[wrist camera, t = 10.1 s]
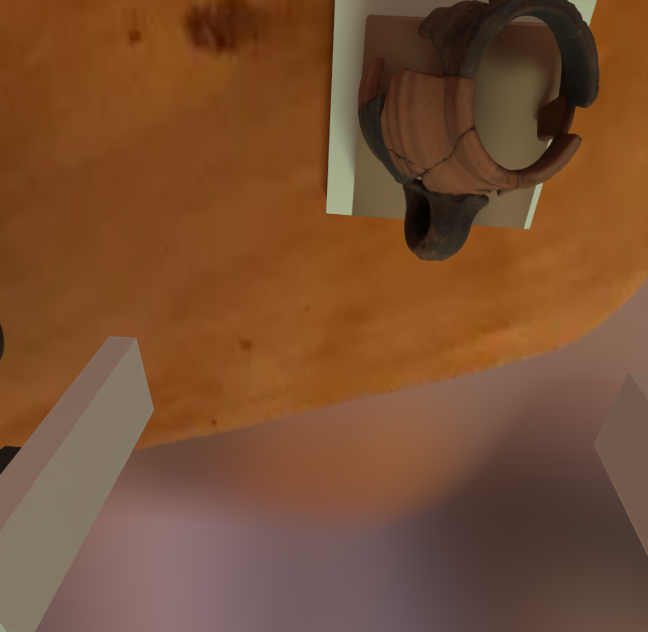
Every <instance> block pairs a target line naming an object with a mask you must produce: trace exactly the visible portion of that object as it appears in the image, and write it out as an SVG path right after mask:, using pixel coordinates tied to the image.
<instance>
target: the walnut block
mask: <svg viewBox="0 0 648 632" xmlns="http://www.w3.org/2000/svg"><path fill="white" fill-rule="evenodd" d="M425 18H426V17H410V16H389V15H369V16H368V17H367V18H366V25H365V39H364V53H363V66H362V75H363V72H364V69H365V67H366V66H367V65H368V64H369V63H370V62H371V61H372V60H373V59H374V58H375V57H381V58H383V59H384V60H385V65H384V68H383V71H382V75H381V78H380V81H379V86H378V91H377V96H376V98H377V97H379V96H380V95H382V94H384V95H387V92H388V86H389V82H390V80H391V78H392V77H393V76H394V75H395V74H396V73H398V72H400V71H401V70H402V69H403V68H407V69H411V70H413V71H418V72H423V73H431V74H435V75H439V76H443V75H444V72H443V69H442V67H441V63H440V59H439V57H438V55H437V53H436V51H435V49H434V47H433V45H432V41H431V40H430V39H426V38H423V37H421V36H420V35H419V34H418V28H419V26H420V24H421V23H422V22H423V21H424V20H425ZM561 69H562V62H561V54H560V50H559V47H558V44H557V41H556V39H555V37H554V35H553V33H552V31H551V29H550V28H549V27H548V25H547V24H546V23H536V22H515V21H511V22H509V23H508V24H507V25H506V26H504V27H503V28H502V29H501V30H500V31H499V33H498V34H497V35H496V36H495V37H494V39H493V40H492V41H491V43H490V44H489V46H488V48H487V49H486V51H485V53H484V56H483V58H482V60H481V63H480V66H479V68H478V71H477V73H476V75H475V89H474V118H475V127H476V129H477V132H478V135H479V138H480V140H481V142H482V145H483V146H484V148H485V150H486V151H487V153H488V154H489V155H490V157H491V158H492V159H493V160H494V161H495V162H496V163H498V164H499V165H501V166H502V167H504V168H506V169H509V170H517V169H523V168H526V167H528V166H530V165H531V164H533V163H534V162H536V161H537V160H538V159H539V158H540V157H541V156H542V154H543V153H544V152H545V151H546V149H547V146H548V142H549V141H548V142H543V141H540V140H538V138H537V122H538V114H539V112H540V109H541V108H542V107H543V106H545V105H547V104H548V103H549V102H550V101H552V100H554V99H556V98H557V97H558V96H559V88H560V80H561ZM416 179H418V180H422V178H421V177H418V178H416ZM535 188H536V186H532V187H530V188H526V189H516V190H514V191H512V192H510V193H507V194H505V195H502V196H498V195H497V192H496V191H497V190H495V191H492V192H491V193H489V194H485V195H487V197H489V203H488V205H486V206H485V207H484V208H482V209H481V210H480V211H479V212H478V213H477V215H476V216H475V218H474V220H473V222H472V224H471V225H483V226H495V227H508V228H521V229H524V226H525V223H526V219H527V216H528V212H529V209H530V205H531V202H532V198H533V195H534V191H535ZM405 213H406V198H405V193H404V190H403V185H402V184H401V183H398V182H396V180H395V179H394V177H393V176H392V175H391V174H390V173H389V171H388V170H387V169H386V168H385V166H384V164H383V163H382V162H381V161H380V160H379V159H378V158H376V156H375V155H374V154H373V153H372V151H371V150H370V148H369V147H368V145H367V143H366V141H365V139H364V137H363V134H362V132H361V128H360V123H359V121H358V135H357V149H356V163H355V176H354V190H353V204H352V215H355V216H368V217H381V218H393V219H405Z"/></svg>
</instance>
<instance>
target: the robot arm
mask: <svg viewBox="0 0 648 632" xmlns="http://www.w3.org/2000/svg"><path fill="white" fill-rule="evenodd" d="M3 348H4V343H3V336H2V332H1V329H0V360H1V357H2V354H3ZM153 411H154V408H153V404H152V400H151V396H150V392H149V388H148V384H147V380H146V376H145V372H144V368H143V364H142V359H141V355H140V351H139V347H138V343H137V339H136V338H131V337H116V336H109V337H108V338H107V340H106V341H105V342H104V344H103V345H102V346H101V347H100V349H99V350H98V351H97V352H96V354H95V355H94V356H93V358H92V359H91V360H90V361H89V363H88V364H87V365H86V366H85V368H84V369H83V370H82V372H81V373H80V374H79V375H78V377H77V378H76V379H75V380H74V382H73V383H72V384H71V386H70V387H69V388H68V389H67V391H66V392H65V393H64V394H63V396H62V397H61V398H60V400H59V401H58V402H57V403H56V405H55V406H54V407H53V408H52V410H51V411H50V412H49V414H48V415H47V416H46V417H45V419H44V420H43V421H42V422H41V424H40V425H39V426H38V428H37V429H36V430H35V431H34V433H33V434H32V435H31V436H30V438H29V439H28V440H27V441H26V443H25V444H24V445H23V447H12V446H5V447H3V448H2V449H0V632H35V630H36V629H37V626H38V625H39V623H40V621H41V619H42V617H43V615H44V614H45V612H46V610H47V608H48V606H49V604H50V602H51V601H52V599H53V597H54V595H55V593H56V591H57V589H58V588H59V586H60V584H61V582H62V580H63V578H64V576H65V574H66V573H67V571H68V569H69V567H70V565H71V563H72V562H73V560H74V558H75V556H76V554H77V552H78V550H79V549H80V547H81V545H82V543H83V541H84V539H85V537H86V536H87V534H88V532H89V530H90V528H91V526H92V524H93V523H94V521H95V519H96V517H97V515H98V513H99V511H100V510H101V508H102V506H103V504H104V502H105V500H106V498H107V497H108V495H109V493H110V491H111V489H112V487H113V485H114V483H115V481H116V479H117V478H118V476H119V474H120V472H121V470H122V469H123V467H124V465H125V463H126V461H127V459H128V457H129V456H130V454H131V452H132V450H133V448H134V446H135V444H136V443H137V441H138V439H139V437H140V435H141V433H142V431H143V430H144V428H145V426H146V424H147V422H148V420H149V418H150V417H151V415H152V413H153ZM594 446H595V448H596V450H597V452H598V454H599V456H600V459H601V461H602V463H603V464H604V467H605V469H606V471H607V473H608V475H609V477H610V479H611V481H612V483H613V485H614V487H615V489H616V492H617V494H618V496H619V498H620V500H621V502H622V504H623V506H624V508H625V510H626V512H627V514H628V516H629V518H630V520H631V522H632V524H633V527H634V529H635V531H636V533H637V535H638V537H639V539H640V541H641V543H642V545H643V547H644V549H645V551H646V553H647V555H648V373H639V372H628V374H627V376H626V378H625V380H624V382H623V384H622V387H621V389H620V391H619V393H618V395H617V397H616V399H615V401H614V403H613V406H612V408H611V410H610V412H609V414H608V416H607V418H606V420H605V422H604V425H603V427H602V429H601V431H600V433H599V435H598V438H597V439H596V441H595V443H594Z"/></svg>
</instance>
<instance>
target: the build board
mask: <svg viewBox="0 0 648 632" xmlns="http://www.w3.org/2000/svg"><path fill="white" fill-rule="evenodd" d="M461 1H465V0H335V18H334V42H333V66H332V90H331V114H330V138H329V162H328V186H327V210H326V213H331V214H343V215H352V204H353V190H354V176H355V163H356V149H357V135H358V121H359V118H358V92H359V86H360V81H361V78H362V66H363V53H364V39H365V25H366V18H367V17H368V16H369V15H389V16H410V17H427V16H428V15H429V14H430V13H431V12H432V11H433V10H434V9H436V8H438V7H451V6H453V5H455V4H456V3H458V2H461ZM468 1H472V0H468ZM478 1H481V2H484V3H488V4H489V0H478ZM568 1H569V2H571V3H573V4H575V7H576V8H577V10H578V11H579V12H580V13H581V15H582V18H583V21H585V22H586V23H587V24H588V27H589V24H590V21H591V17H592V14H593V10H594V7H595V4H596V0H568ZM512 21H515V22H536V23H544V22H543V21H542V20H540V19H538V18H536V17H532V16H521V17H517V18H516V19H514V20H512ZM551 141H552V139H551V140H550V141H549V142H548V146H549V145H550V143H551ZM548 146H547V148H548ZM542 184H543V183H541V184H538V185H536V188H535V191H534V195H533V198H532V202H531V205H530V209H529V212H528V216H527V219H526V223H525V226H524V229H530V225H531V222H532V218H533V215H534V211H535V208H536V205H537V201H538V198H539V194H540V191H541V188H542Z"/></svg>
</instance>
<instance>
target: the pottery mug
mask: <svg viewBox="0 0 648 632" xmlns="http://www.w3.org/2000/svg"><path fill="white" fill-rule="evenodd" d="M521 16H532V17H536V18H538V19H540V20H542V21H543V22H544V23H546V24H547V25H548V27H549V28H550V29H551V31H552V33H553V35H554V37H555V39H556V41H557V44H558V47H559V50H560V54H561V62H562V69H561V80H560V88H559V96H558V97H557V98H556V99H554V100H552V101H550V102H549V103H548V104H547V105H545V106H543V107H542V108H541V109H540V112H539V114H538V122H537V138H538V140H540V141H543V142H548V141H550V140H551V139H552V141H551V143H550V145H549V146H548V148H547V149H546V151H545V152H544V153H543V154H542V156H541V157H540V158H539V159H538V160H537V161H536V162H534V163H533V164H531V165H530V166H528V167H526V168H523V169H517V170H509V169H506V168H504V167H502V166H501V165H499V164H498V163H496V162H495V161H494V160H493V159H492V158H491V157H490V155H489V154H488V153H487V151H486V150H485V148H484V146H483V145H482V142H481V140H480V138H479V135H478V132H477V129H476V127H475V118H474V89H475V75H476V73H477V71H478V68H479V66H480V63H481V60H482V58H483V56H484V53H485V51H486V49H487V48H488V46H489V44H490V43H491V41H492V40H493V39H494V37H495V36H496V35H497V34H498V33H499V31H500V30H501V29H502V28H503V27H504V26H506V25H507V24H508V23H509V22H511V21H512V20H514V19H516V18H517V17H521ZM418 34H419V35H420V36H421V37H423V38H426V39H430V40H431V41H432V45H433V47H434V49H435V51H436V53H437V55H438V57H439V59H440V63H441V67H442V69H443V72H444V75H443V76H439V75H435V74H431V73H423V72H418V71H413V70H411V69H407V68H403V69H402V70H401V71H400V72H398V73H396V74H395V75H394V76H393V77H392V78H391V80H390V82H389V86H388V92H387V95H384V94H382V95H380V96H379V97H377V98H376V96H377V91H378V86H379V81H380V78H381V75H382V71H383V68H384V65H385V60H384V59H383V58H381V57H375V58H374V59H373V60H372V61H371V62H370V63H369V64H368V65H367V66H366V67H365V69H364V72H363V75H362V78H361V81H360V86H359V92H358V118H359V123H360V128H361V132H362V134H363V137H364V139H365V141H366V143H367V145H368V147H369V148H370V150H371V151H372V153H373V154H374V155H375V156H376V158H378V159H379V160H380V161H381V162H382V163H383V164H384V166H385V168H386V169H387V170H388V171H389V173H390V174H391V175H392V176H393V177H394V179H395V180H396V182H398V183H401V184H402V185H403V190H404V193H405V198H406V213H405V226H404V231H405V239H406V243H407V245H408V247H409V249H410V250H411V251H412V252H413V253H414V254H416V255H417V256H418V258H419V259H421V260H428V261H431V260H438V261H442V260H445V259H447V258H449V257H450V256H452V255H454V254H455V253H457V252H458V251H459V250H460V248H461V247H462V246H463V244H464V243H465V241H466V239H467V237H468V234H469V232H470V228H471V224H472V222H473V220H474V218H475V216H476V215H477V213H478V212H479V211H480V210H481V209H482V208H484V207H485V206H486V205H488V203H489V197H487V195H485V194H489V193H491V192H492V191H495V190H497V191H496V192H497V195H498V196H502V195H505V194H507V193H510V192H512V191H514V190H516V189H526V188H530V187H532V186H536V185H538V184H541V183H543V182H545V181H546V180H549V179H550V178H552V176H554V175H555V174H556V173H557V172H559V171H560V170H561V169H562V168H563V167H564V166H565V165H566V164H567V163H568V162H569V160H570V159H571V158H572V156H573V155H574V154H575V152H576V151H577V149H578V147H579V145H580V143H581V141H582V138H580V137H579V136H578V135H576V134H568V132H569V129H570V127H571V125H572V122H573V118H574V113H575V109H576V106H579V107H582V108H587V107H589V106H590V105H591V104H592V103H593V102H594V100H595V99H596V98H597V95H598V91H599V67H598V54H597V50H596V44H595V42H594V37H593V35H592V32H591V31H590V29H589V27H588V24H587V23H586V22H585V21H583V18H582V15H581V13H580V12H579V11H578V10H577V8H576V7H575V4H573V3H571V2H569V1H568V0H489V4H488V3H484V2H481V1H478V0H472V1H468V0H465V1H461V2H458V3H456V4H455V5H453V6H451V7H438V8H436V9H434V10H433V11H432V12H431V13H430V14H429V15H428V16H427V17H426V18H425V20H424V21H423V22H422V23H421V24H420V26H419V28H418ZM418 177H421V178H422V180H418V179H416V178H418Z"/></svg>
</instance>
